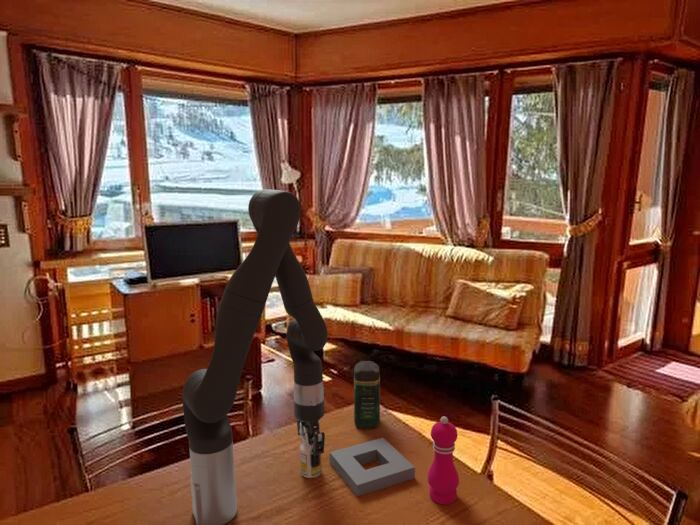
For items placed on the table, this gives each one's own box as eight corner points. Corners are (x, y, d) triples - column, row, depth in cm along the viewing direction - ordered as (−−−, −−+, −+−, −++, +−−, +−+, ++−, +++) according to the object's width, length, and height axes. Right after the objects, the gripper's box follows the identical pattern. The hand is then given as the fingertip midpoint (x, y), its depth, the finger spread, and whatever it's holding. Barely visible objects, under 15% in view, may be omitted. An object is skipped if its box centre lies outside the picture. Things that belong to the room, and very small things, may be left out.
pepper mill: (435, 508, 115) (436, 426, 111) (422, 489, 122) (423, 411, 118) (464, 502, 117) (466, 421, 113) (450, 484, 123) (451, 407, 120)
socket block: (357, 496, 119) (357, 485, 119) (329, 462, 134) (329, 452, 133) (414, 478, 126) (414, 467, 126) (382, 447, 140) (382, 437, 140)
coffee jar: (380, 429, 150) (380, 370, 147) (354, 430, 150) (353, 370, 147) (379, 414, 160) (379, 358, 156) (354, 414, 160) (353, 358, 157)
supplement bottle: (323, 466, 132) (322, 432, 130) (320, 479, 126) (319, 443, 125) (302, 465, 132) (301, 431, 130) (298, 478, 127) (297, 442, 125)
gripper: (285, 389, 130) (287, 450, 133) (305, 412, 118) (307, 479, 121) (312, 384, 134) (314, 443, 137) (334, 405, 121) (336, 470, 124)
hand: (310, 459), depth 129 cm, fingers closed on supplement bottle, 5 cm apart
